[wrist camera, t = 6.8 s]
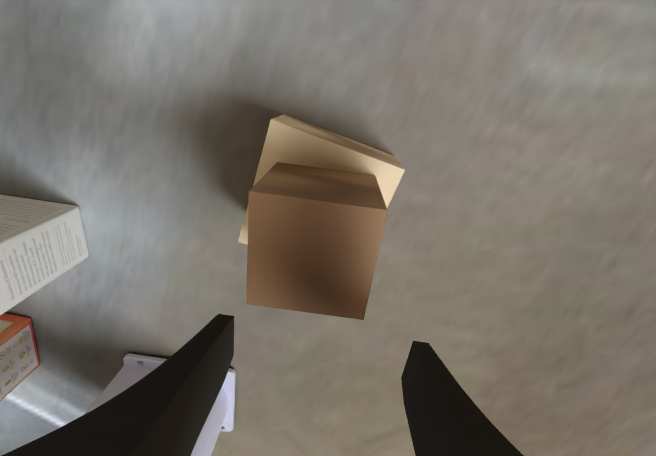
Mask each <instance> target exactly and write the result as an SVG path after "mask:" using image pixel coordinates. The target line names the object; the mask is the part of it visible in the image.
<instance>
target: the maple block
mask: <svg viewBox="0 0 656 456" xmlns="http://www.w3.org/2000/svg"><path fill="white" fill-rule="evenodd" d="M277 162H281V163H288V164H296V165H303V166H310V167H318V168H325V169H332V170H339V171H347V172H354V173H361V174H369V175H375V176H376V179H377V182H378V185H379V187H380V190H381V193H382V196H383V199H384V202H385V204H386V207H388V205H389V203H390V201H391V199H392V197H393V194H394V192H395V190H396V188H397V186H398V184H399V182H400V180H401V177H402V175H403V173H404V171H405V169H404V168H403V167H402V165H401V164H400V163H399V161H398V160H397V159H396V157H395V156H394V155H391V154H388V153H386V152H383V151H380V150H378V149H375V148H373V147H370V146H367V145H365V144H362V143H359V142H357V141H354V140H352V139H349V138H346V137H344V136H341V135H338V134H336V133H333V132H331V131H328V130H325V129H323V128H320V127H317V126H315V125H312V124H310V123H307V122H304V121H302V120H299V119H296V118H294V117H291V116H289V115H286V114H283V115H281V116H278V117H275V118H273V119H271V120H270V124H269V128H268V132H267V135H266V139H265V143H264V147H263V150H262V154H261V158H260V162H259V165H258V169H257V173H256V177H255V180H254V184H253V186H254V185H255V184H256V183H257V182H258V181H259V180H260V179H261V178H262V177H263V176H264V175H265V174H266V173H267V172H268V171H269V170H270V169H271V168H272V167H273V166H274V165H275V164H276V163H277ZM248 207H249V203H248ZM248 207H247V210H246V214H245V218H244V222H243V225H242V229H241V233H240V237H239V240H238V242H240V243H243V244H246V245H248Z"/></svg>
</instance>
